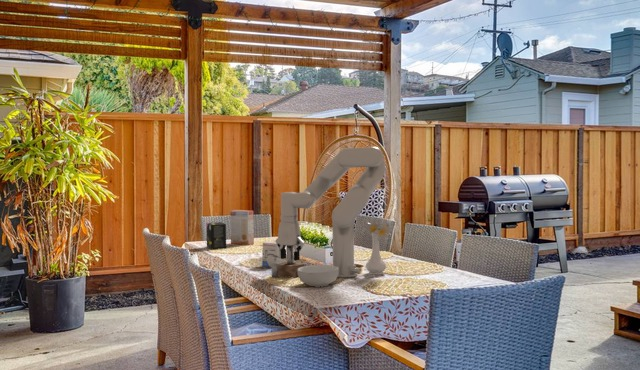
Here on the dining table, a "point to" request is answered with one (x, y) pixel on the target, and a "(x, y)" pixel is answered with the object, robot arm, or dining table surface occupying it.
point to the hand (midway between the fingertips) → (290, 259)
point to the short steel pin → (274, 269)
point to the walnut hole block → (289, 269)
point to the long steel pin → (290, 255)
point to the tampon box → (216, 235)
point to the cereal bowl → (318, 274)
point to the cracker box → (242, 227)
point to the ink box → (270, 253)
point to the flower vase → (376, 244)
